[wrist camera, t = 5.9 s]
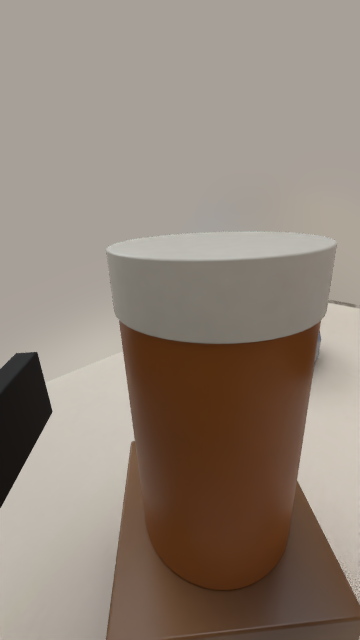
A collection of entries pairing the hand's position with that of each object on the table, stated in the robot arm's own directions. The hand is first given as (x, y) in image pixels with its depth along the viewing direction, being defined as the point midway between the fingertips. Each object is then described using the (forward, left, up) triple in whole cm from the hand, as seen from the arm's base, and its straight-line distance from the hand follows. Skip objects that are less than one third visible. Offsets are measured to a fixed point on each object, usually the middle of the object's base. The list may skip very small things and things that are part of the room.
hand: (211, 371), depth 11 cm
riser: (0, -1, -13) cm, 13 cm away
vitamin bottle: (0, -1, -6) cm, 6 cm away
